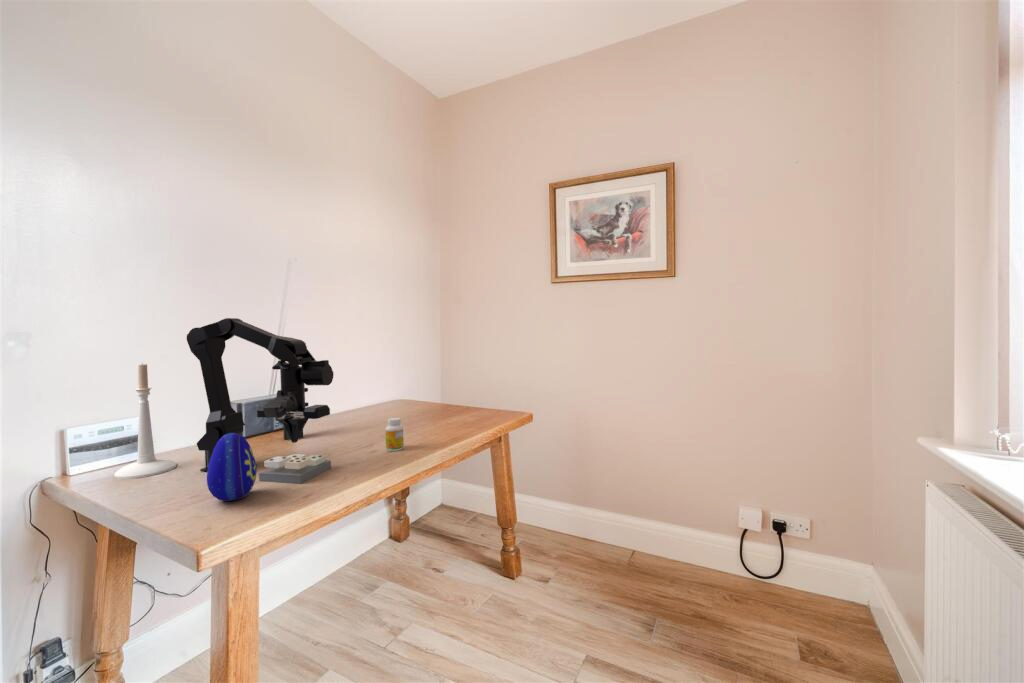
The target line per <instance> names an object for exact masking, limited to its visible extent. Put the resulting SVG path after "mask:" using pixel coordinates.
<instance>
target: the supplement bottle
mask: <svg viewBox="0 0 1024 683" xmlns="http://www.w3.org/2000/svg"><path fill="white" fill-rule="evenodd" d="M401 423H402V419H401V418H400V417H391V418H388V419H387V425H386V427H385V449H386V451H389V452H398V451H401V450H403V449H404V447H405V446H404V445H405V444H404V426H403V425H402V424H401Z"/></svg>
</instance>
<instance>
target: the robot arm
mask: <svg viewBox="0 0 1024 683" xmlns="http://www.w3.org/2000/svg"><path fill="white" fill-rule="evenodd" d="M234 336H235V337H238V338H240V339H242V340H245V341H247V342H250V343H252V344H254V345H257V346H259V347H262V348H263V349H266V350H267V351H268V352H269V353H270V355H272V356H273V357H275V358H276V359H278V361H277V362H276V363H275V364H274V365H273V366H272V368H271V369H272V370H280V371H279V372H280V373H279V374H280V376H279V377H280V389H279V390H276V391H277V392H276V397H275V398H272V399H271V400H270V401H267V403H264V405H260V406H258V408H257V409H256V417H257V418H267V419H269V418H275V421H277V422H279V423H281V424H282V425H284V426H285V428H286V430H287V432H288V435H289V437H290V439H291V440H290V441H291V443H293V444H294V443H297V442H298V441H299V437H300V434H301V432H302V430H303V431H304V428H305V425H306V424H307V422H308V420H309V419H310V420H317V419H321V418H323V417H326V416H327V417H328V416H330V415H331V408H330V407H329V405H328V404H314V405H311V406H309V402H306V394H305V393H307V392H309V388H308V387H305V386H330V385H331V384H332V383H333V380H334V371H333V368H332V366H331V365H330V361H329V359H324V360H316V359H315V357H314V356H313V355H312V353H311V351H309V350H308V349H309V348H308V346H307V343H306V342H305V341H304V340H302V339H298V338H293V337H287V336H281V335H276V334H275V333H272V332H270V331H268V330H266V329H263V328H260V327H258V326H256V325H252V324H250V323H248V322H245V321H243V320H241V319H240V318H238V317H237V318H236V317H235V318H233V317H231V318H230V317H225V318H224V319H220V320H219V321H217V322H214V323H210V324H205V325H203V326H201V327H194V328H192V329H191V330H189V332H188V333H187V334H186V341H187V342H186V343H187V345H188V346H189V349H190V353H192V354H193V355H194V356H195V357H196V359H198V361H199V365H200V370H201V374H202V379H203V383H204V389H205V393H206V399H207V403H208V409H209V413H208V416H207V419H206V422H205V434H203V436H201V438H200V439H199V440H198V441H197V442H196V447H197V448H198V451H202V452H203V451H204V460H205V461H204V463H205V467H202V468H200V469H199V470H200V472H207V471H208V466H209V462H210V459H211V456H212V453H213V450H214V448H215V446H216V444H217V442H218V441H219V440H220V438H221V437H223V436H224V435H226V434H229V433H237V434H240V435H242V433H244V426H246V424H245V422H244V419H243V415H244V414H243V412H242V411H238V412H237V411H236V410H234V408H233V407H232V403H231V398H230V393H229V388H228V384H227V378H226V374H225V370H224V369H225V368H224V364H223V358H222V357H223V354H224V352H225V350H226V341H228V340H230V339H233V338H234Z"/></svg>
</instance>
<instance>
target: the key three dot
mask: <svg viewBox="0 0 1024 683" xmlns="http://www.w3.org/2000/svg"><path fill="white" fill-rule="evenodd" d="M307 458H311V464H309V465H307V466H317V465H319V464H321V463H323V462H325V461H326V460H327V459H326V455H318V454H312V455H309V456H307Z"/></svg>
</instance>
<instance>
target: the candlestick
mask: <svg viewBox="0 0 1024 683" xmlns="http://www.w3.org/2000/svg"><path fill="white" fill-rule="evenodd" d="M137 383H138V384H137V386H138V388H135V389H134V390H135V391H136V392H137V393H136V395H137V396H138V398H139V402H138V428H137V429H138V432H137V433H138V434H137V436H138V437H137V456H136V457H137V459H136V461H135V462H132V463H130V464H127V465H125V466H123V467H121V468H119V469H118V470H116V471H115V473H114V478H115V479H118V480H132V479H141V478H142V479H143V478H146V477H153V476H156V475H160V474H163V473H167V472H169V471H171V470H173V469H175V468H176V467H177V462H176V461H174V460H172V459H167V458H156V456H155V448H154V439H153V431H152V421H151V412H150V411H151V410H150V401H149V400H148V398H149V396H150V395H151V392H150V391H151V389H153V387H149V377H148V364H147V363H145V364H143V363H141V364H137Z"/></svg>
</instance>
